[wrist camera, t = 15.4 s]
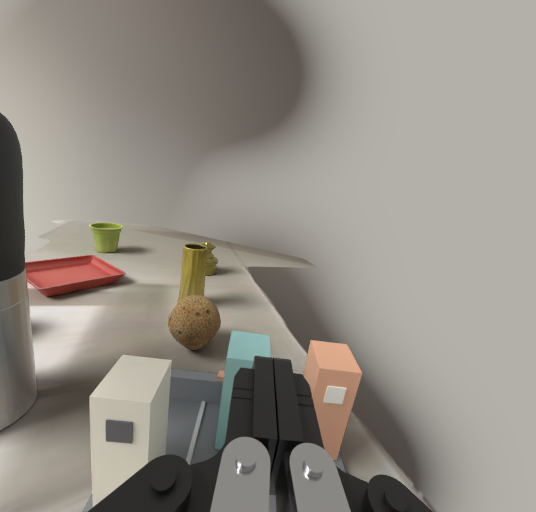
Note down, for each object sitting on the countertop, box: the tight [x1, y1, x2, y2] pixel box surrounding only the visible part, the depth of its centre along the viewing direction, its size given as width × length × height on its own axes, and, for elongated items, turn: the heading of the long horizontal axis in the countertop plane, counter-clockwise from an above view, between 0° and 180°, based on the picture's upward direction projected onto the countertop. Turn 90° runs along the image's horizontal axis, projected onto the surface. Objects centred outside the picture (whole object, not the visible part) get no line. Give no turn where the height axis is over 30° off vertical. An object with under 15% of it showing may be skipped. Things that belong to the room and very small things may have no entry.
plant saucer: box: [25, 255, 125, 296], centre depth 66 cm, size 18×18×3 cm
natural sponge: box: [168, 295, 221, 350], centre depth 47 cm, size 9×9×10 cm
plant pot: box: [89, 223, 123, 253], centre depth 90 cm, size 9×9×9 cm
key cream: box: [89, 355, 172, 507], centre depth 24 cm, size 5×4×12 cm
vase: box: [178, 243, 207, 303], centre depth 62 cm, size 6×6×14 cm
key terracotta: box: [303, 340, 362, 460], centre depth 31 cm, size 5×4×12 cm
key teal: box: [215, 331, 271, 450], centre depth 31 cm, size 5×4×12 cm
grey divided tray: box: [83, 369, 346, 512], centre depth 30 cm, size 15×25×6 cm, turn 92°
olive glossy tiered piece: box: [201, 241, 218, 275], centre depth 85 cm, size 7×8×10 cm
